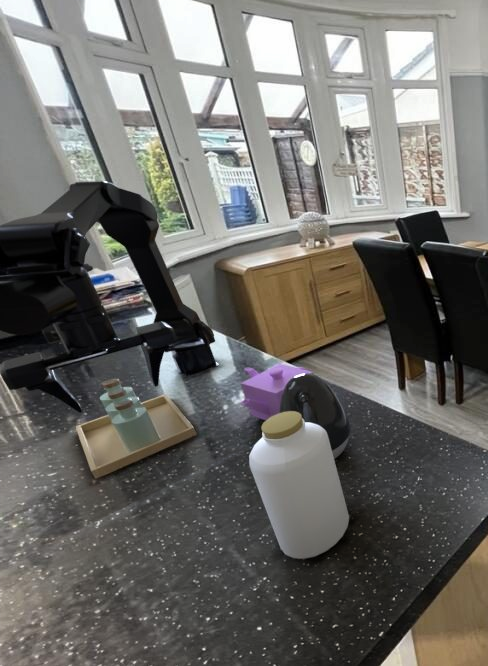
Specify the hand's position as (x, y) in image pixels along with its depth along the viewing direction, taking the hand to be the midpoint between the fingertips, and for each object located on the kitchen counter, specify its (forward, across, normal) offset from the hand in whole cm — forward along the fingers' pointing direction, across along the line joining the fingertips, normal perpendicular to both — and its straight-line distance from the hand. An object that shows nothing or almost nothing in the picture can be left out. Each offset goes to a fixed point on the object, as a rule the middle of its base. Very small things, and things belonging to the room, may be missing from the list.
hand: (120, 397), depth 64 cm
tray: (+10, 0, -5) cm, 12 cm away
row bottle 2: (+10, 0, -5) cm, 11 cm away
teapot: (+10, -19, +11) cm, 24 cm away
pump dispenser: (+10, -18, +27) cm, 34 cm away
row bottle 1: (+10, 0, -11) cm, 15 cm away
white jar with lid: (+10, -10, +41) cm, 43 cm away
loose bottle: (+10, 0, 0) cm, 10 cm away
